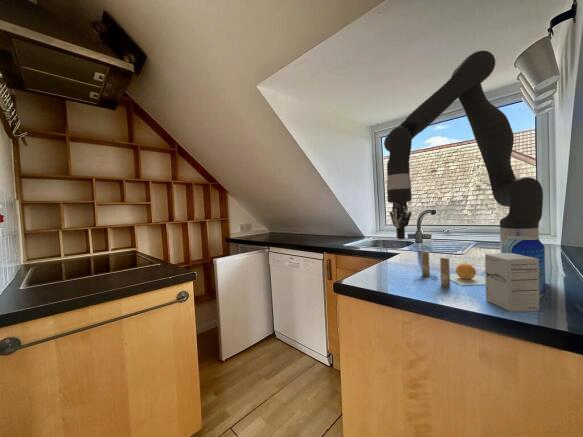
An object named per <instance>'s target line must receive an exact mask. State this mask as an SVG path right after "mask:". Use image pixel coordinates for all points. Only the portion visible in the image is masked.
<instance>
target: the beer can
mask: <svg viewBox="0 0 583 437" xmlns="http://www.w3.org/2000/svg"><path fill="white" fill-rule="evenodd" d="M506 238H507V239H506V240H505V242H504V243H503V244H502V253H514V254H518V255H523V256H528V257H532V258H537V259H539V299H541V298H542V297H543V296H544V295H546V262H545V260H546V257H545V256H546V254H545V253H546V252H545V251H546V250H545V249H546V248H545V245H544V244H543V243H542V242H541V241H540V237H539V238H538V237H531V236H508V237H506Z"/></svg>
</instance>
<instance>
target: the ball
mask: <svg viewBox="0 0 583 437" xmlns="http://www.w3.org/2000/svg"><path fill="white" fill-rule="evenodd" d="M476 271H477V270H476V268H475V267H474V266H473V265H472V264H470V263H466V262H465V263H461V264H460V263H459V264H458V265H457V266H456V269H455V273H456V274H457V275H458V276H459V277H460V278H462V279H465V280H470V279H472V278H474V277H475V275H477V274H476V273H477V272H476Z"/></svg>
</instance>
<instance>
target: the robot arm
mask: <svg viewBox="0 0 583 437" xmlns="http://www.w3.org/2000/svg"><path fill="white" fill-rule="evenodd" d="M495 66H496V58H495V56H494V55H493V53H491V52H490V51H487V50H478V51H475V52H473V53H470V54H469V55H468V56H467V57H466V58H465V59H464V60H463V61H461V63H459V64H458V66H457V67H456V68H455V69H454V70H453V72H452V74H451V77H450V78H449V79H448V80H447V81H446V82H445V83H443V85H442V86H441V87H440V88H439V89H438V90H436V91H435V92H434V93H432V94H431V96H429V97H428V98H427V99H426V100H424V101H423V102H422V103H421V104H420V105H418V106H417V108H415V109H414V110H413V111H412V112H411V113H410V114H409V115H408V116H407V117H406V118H405V120H404V121H402V122H401V123H399V125H397V126H396V127H394V128H393V129H392V130H390V132H389V133H388V134H387V135H386V136H385V139H384V140H383V141H384V142H383V145H384V148H385V149H386V151H387V152H388V153H389V158H388V160H387V163H386V164H387V165H386V171H387V173H386V174H387V179H386V193H387V194H386V195H387V196H386V197H387V203H388V204H390V203H391V204H392V208H391V211H390V212H389V214H390V218H391V221H392V222H391V223H392V225H393V226H394V228H395V229H396V230H395V231H396V239H398V240H405V239H406V233H405V231H406V230H405V228H406V227H408V226H409V223H410V219H411V216H412V211H409V210H408V207H409V206H408V204H407V203H410V202H412V200H413V199H412V180H411V175H410V174H411V173H410V172H411V171H410V169H411V168H410V159H411V158H410V157H411V151H412V143H413V142H412V141H413V139H414V138H416V136H418V134H420V133H422V132H423V131H425V130H426V129H427V128H428V127H429V126H430V125H431V124H432V123H433V122H434V121H435V120H437V118H439V117H440V116H441V115H442V114H443V113H444V112H445V111H446V110H447V109H448V108H449V107H450V106H451V105H452V104H453V103H454V102H455V101H456V100H459V102H460V104H461V106H462V108H463V109H464V110H463V111H464V113H465V115H466V118H467V120H468V124H469V125H470V128H471V131H472V133H473V138H474V140H475V143H476V145H477V147H478V149H479V152H480V154H481V158H482V160H483V164H484V166H485V168H486V172H487V175H488V179H489V183H490V188H491V193H492V195H493V198H494V200H495V201H496V202H497V204H499V205H500V206H503V207H506V208H507V207H508V210H509V211H508V214H507V215H506V216H504V217H503V218H501V219H500V220H499V244H500V246H499V247H500V248H499V250H500V253H502V244H503V243H504V242H505V240H506V239H507V238H506V237H508V236H531V237H538V238H539V239H540V235H539V223H540V222H541V219H542V216H543V206H544V204H543V203H544V191H543V186H542V184H541V183H540V181H538V180H537V179H536V178H533V177H530V176H529V177H527V176H526V177H519V178H516V175H515V173H514V171H513V167H512V164H511V161H512V160H511V158H512V154H513V148H514V141H515V137H514V136H515V135H514V131H513V129H512V126H511V124H510V121H509V119H508V117H507V115H506V114H505V113H504V112H503V111H502V110H500V109H499V108H498V107H496V106H495V105H493V103H491V102H490V101H489V100H488V99H487V96H486V95H485V92H484V90H483V87H482V83H483V82H484V81H485V80H487V78H489V77H490V76H491V74H492V73H493V71H494V70H495Z"/></svg>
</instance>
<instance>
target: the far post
mask: <svg viewBox="0 0 583 437" xmlns="http://www.w3.org/2000/svg"><path fill="white" fill-rule="evenodd" d="M420 252H421V274H422V276H423V277H428V278H429V277H431V276H430V275H431V274H430V273H431V272H430V251H429V250H422V251H420Z"/></svg>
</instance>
